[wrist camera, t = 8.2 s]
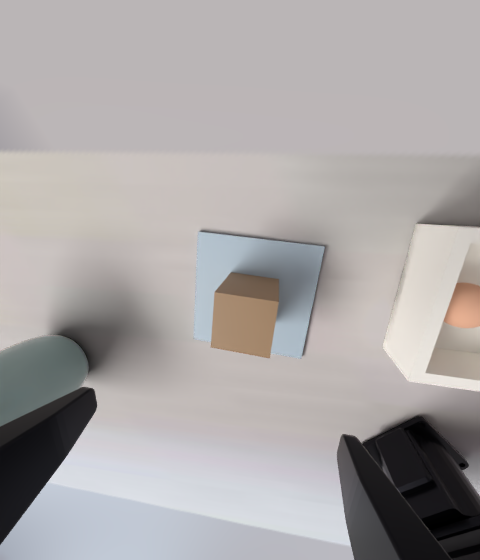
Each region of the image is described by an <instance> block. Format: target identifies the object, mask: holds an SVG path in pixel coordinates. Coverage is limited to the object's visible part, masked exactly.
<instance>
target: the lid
mask: <svg viewBox="0 0 480 560" xmlns="http://www.w3.org/2000/svg"><path fill="white" fill-rule="evenodd" d="M324 249H325V247H324V246H318V245H310V244H302V243H293V242H285V241H276V240H268V239H259V238H251V237H243V236H234V235H226V234H217V233H209V232H200V231H199V232H198V242H197V267H196V291H195V316H194V339H196V340H202V341H207V342H211V347H212V348H217V349H223V350H228V351H233V352H239V353H244V354H249V355H255V356H260V357H265V358H270V353H272V354H278V355H283V356H289V357H294V358H300V359H301V357H302V352H303V348H304V343H305V338H306V334H307V329H308V324H309V319H310V315H311V310H312V305H313V300H314V296H315V291H316V286H317V282H318V277H319V272H320V267H321V263H322V258H323V253H324Z"/></svg>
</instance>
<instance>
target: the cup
mask: <svg viewBox="0 0 480 560" xmlns="http://www.w3.org/2000/svg"><path fill="white" fill-rule="evenodd" d="M88 369H89V364H88V360H87V357H86V355H85V353H84V351H83V350H82V349H81V347H80V346H79V345H78V344H77V343H76V342H74V341H73V340H71V339H69V338H68V337H65V336H61V335H44V336H39V337H35V338H32V339H29V340H26V341H23V342H20V343H17V344H15V345H12V346H10V347H7V348H5V349H3V350H1V351H0V426H2V425H4V424H6V423H8V422H10V421H12V420H14V419H16V418H19V417H21V416H23V415H25V414H27V413H29V412H31V411H33V410H35V409H37V408H39V407H41V406H44V405H46V404H48V403H50V402H52V401H54V400H56V399H58V398H60V397H62V396H64V395H66V394H68V393H71V392H73V391H75V390H77V389H79V388H81V386H82V385H83V383H84V382H85V380H86V377H87V374H88Z"/></svg>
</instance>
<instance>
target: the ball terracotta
mask: <svg viewBox="0 0 480 560" xmlns="http://www.w3.org/2000/svg"><path fill="white" fill-rule="evenodd" d="M444 322H445V323H447V324H449V325H452V326H455V327H459V328H475V327H479V326H480V286H478V285H475V284H471V283H464V282H463V283H456V286H455V289H454V292H453V295H452V298H451V301H450V303H449V306H448V309H447V312H446V315H445V318H444Z"/></svg>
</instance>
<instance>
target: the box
mask: <svg viewBox="0 0 480 560" xmlns="http://www.w3.org/2000/svg"><path fill="white" fill-rule="evenodd" d="M463 282H464V283H471V284H475V285H478V286H480V227H473V226H454V225H434V224H416V225H415V229H414V232H413V236H412V240H411V243H410V247H409V251H408V254H407V258H406V262H405V266H404V269H403V273H402V277H401V280H400V284H399V288H398V291H397V295H396V299H395V303H394V306H393V310H392V314H391V317H390V321H389V325H388V328H387V332H386V336H385V340H384V343H383V348H384V350H385V351H386V352H387V354H388V355H389V356H390V358H391V359H392V360H393V362H394V363H395V364H396V366H397V367H398V368H399V370H400V371H401V372H402V373H403V375H404V376H405V377H406V379H407V380H408V381H410V382H417V383H424V384H431V385H438V386H444V387H451V388H458V389H465V390H472V391H479V392H480V326H479V327H475V328H459V327H455V326H452V325H449V324H447V323H445V322H444V318H445V315H446V312H447V309H448V306H449V303H450V301H451V298H452V295H453V292H454V289H455V286H456V283H463Z"/></svg>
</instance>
